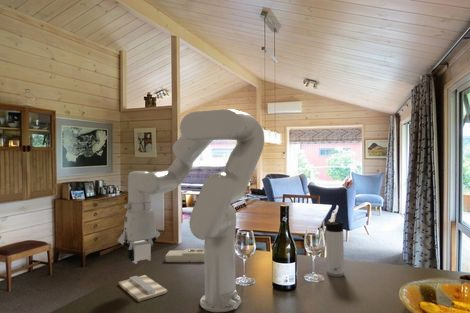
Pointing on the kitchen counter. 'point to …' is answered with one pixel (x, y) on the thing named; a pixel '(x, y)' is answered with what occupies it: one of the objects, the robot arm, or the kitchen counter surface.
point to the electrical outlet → (185, 255)
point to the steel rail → (142, 285)
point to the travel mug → (334, 249)
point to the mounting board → (138, 292)
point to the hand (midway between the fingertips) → (139, 257)
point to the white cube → (141, 251)
